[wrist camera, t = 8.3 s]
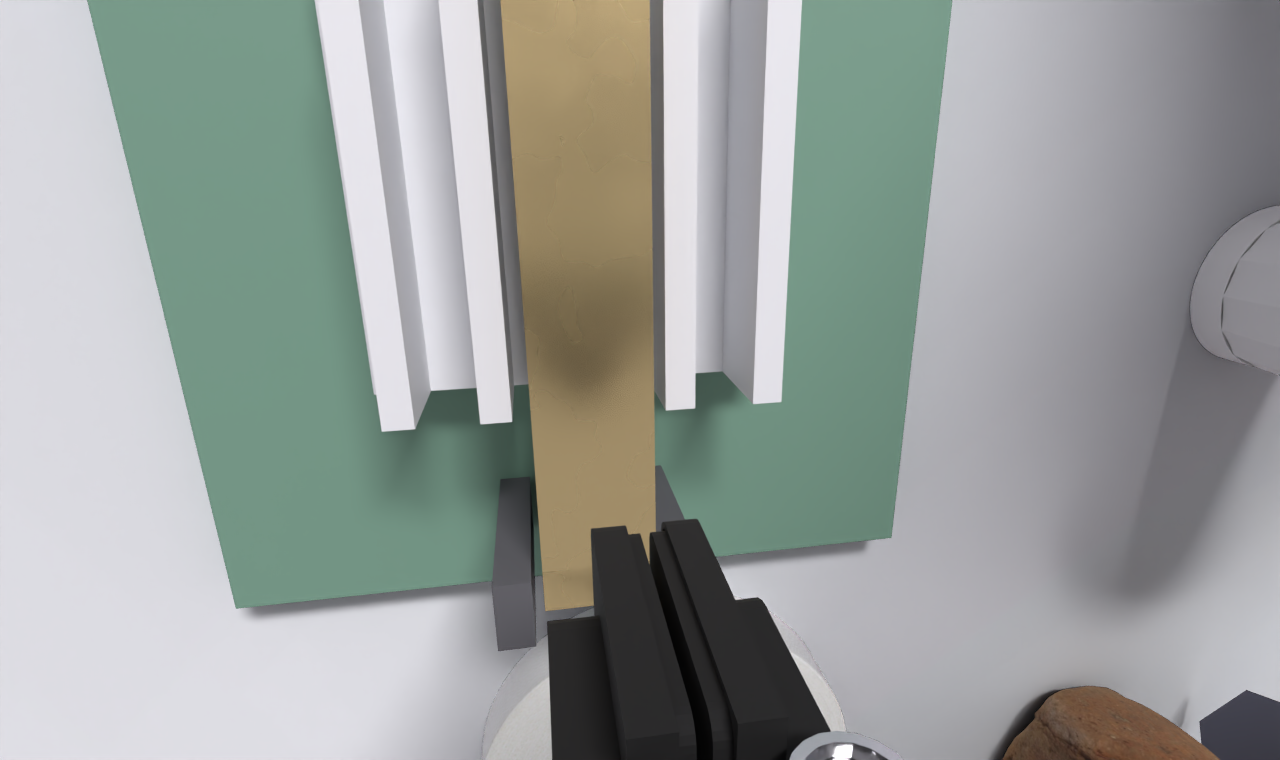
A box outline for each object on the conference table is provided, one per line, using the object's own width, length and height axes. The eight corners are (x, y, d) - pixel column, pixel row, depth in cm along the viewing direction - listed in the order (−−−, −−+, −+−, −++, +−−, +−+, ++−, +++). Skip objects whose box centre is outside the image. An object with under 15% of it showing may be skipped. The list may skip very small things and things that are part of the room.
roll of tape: (474, 870, 31) (469, 938, 28) (492, 582, 26) (488, 630, 24) (790, 848, 34) (813, 907, 31) (854, 585, 29) (888, 628, 26)
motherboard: (13, -451, 16) (-433, -982, 8) (962, -354, 19) (1229, -668, 12) (252, 582, 24) (136, 760, 17) (872, 518, 28) (994, 644, 21)
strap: (464, -506, 12) (453, -628, 10) (628, -486, 13) (646, -598, 11) (543, 575, 19) (545, 620, 17) (646, 565, 20) (659, 607, 18)
